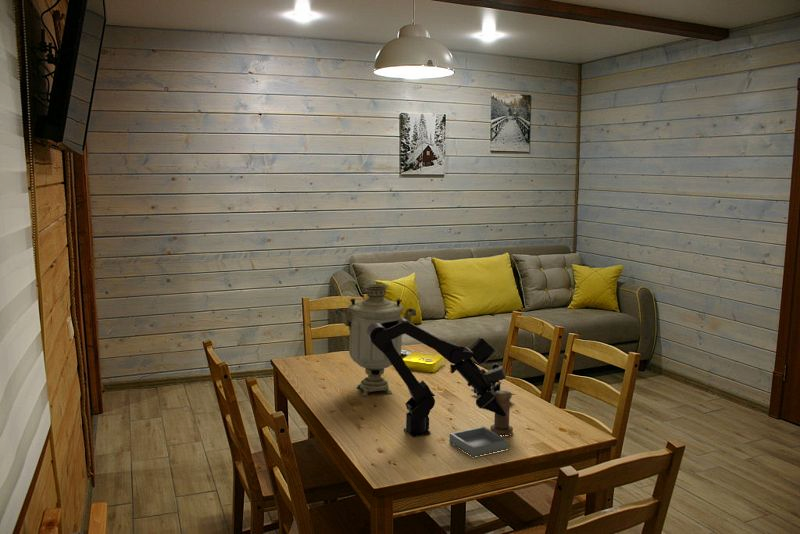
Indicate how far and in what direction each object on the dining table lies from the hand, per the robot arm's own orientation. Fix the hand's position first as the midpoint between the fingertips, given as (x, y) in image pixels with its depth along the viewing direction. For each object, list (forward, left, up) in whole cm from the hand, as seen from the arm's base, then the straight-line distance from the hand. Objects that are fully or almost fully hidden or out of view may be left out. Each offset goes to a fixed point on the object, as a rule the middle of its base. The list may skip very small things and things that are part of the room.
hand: (506, 410), depth 211 cm
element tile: (+14, +76, -8) cm, 78 cm away
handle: (-1, +1, -7) cm, 7 cm away
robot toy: (+15, +28, -8) cm, 33 cm away
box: (-14, -5, -7) cm, 17 cm away
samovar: (-17, +58, -7) cm, 61 cm away
